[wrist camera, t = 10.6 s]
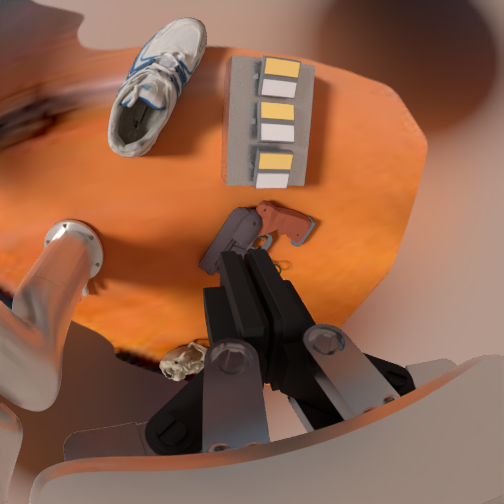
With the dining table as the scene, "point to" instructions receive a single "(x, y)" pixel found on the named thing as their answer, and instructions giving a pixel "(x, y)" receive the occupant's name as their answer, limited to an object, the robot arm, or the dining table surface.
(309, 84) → the switch unit
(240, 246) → the toy gun
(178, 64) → the athletic shoe
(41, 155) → the dining table surface
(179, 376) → the skull
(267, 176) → the switch
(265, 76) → the switch
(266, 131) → the switch
